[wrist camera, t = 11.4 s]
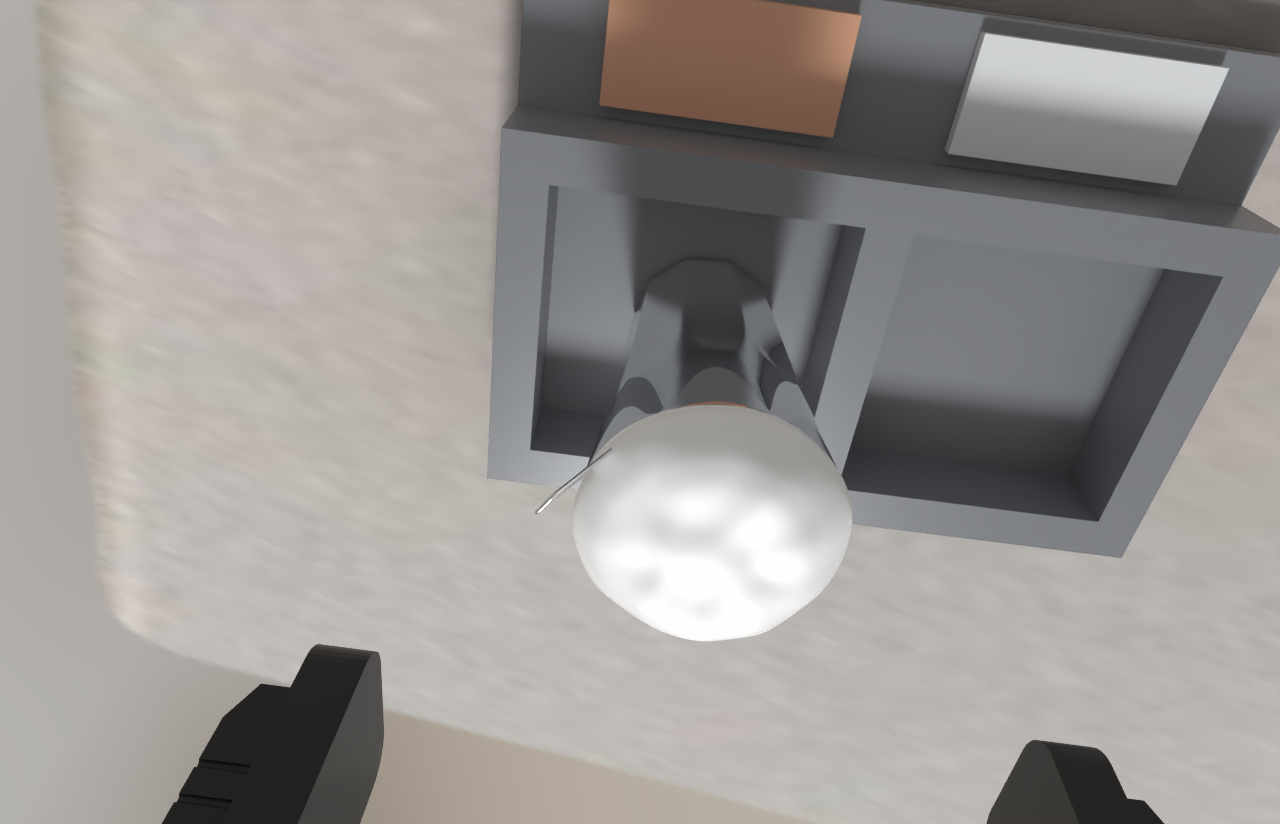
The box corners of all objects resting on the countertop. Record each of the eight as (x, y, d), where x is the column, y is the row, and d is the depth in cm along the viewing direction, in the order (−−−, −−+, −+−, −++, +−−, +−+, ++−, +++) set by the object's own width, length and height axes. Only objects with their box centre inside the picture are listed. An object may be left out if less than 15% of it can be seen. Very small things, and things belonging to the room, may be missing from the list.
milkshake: (664, 165, 19) (651, 392, 11) (836, 309, 21) (941, 605, 12) (544, 308, 21) (451, 597, 13) (709, 430, 23) (725, 758, 14)
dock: (1283, 53, 19) (1379, 81, 16) (1075, 487, 25) (1121, 557, 22) (533, -55, 18) (508, -44, 16) (508, 414, 24) (487, 478, 22)
